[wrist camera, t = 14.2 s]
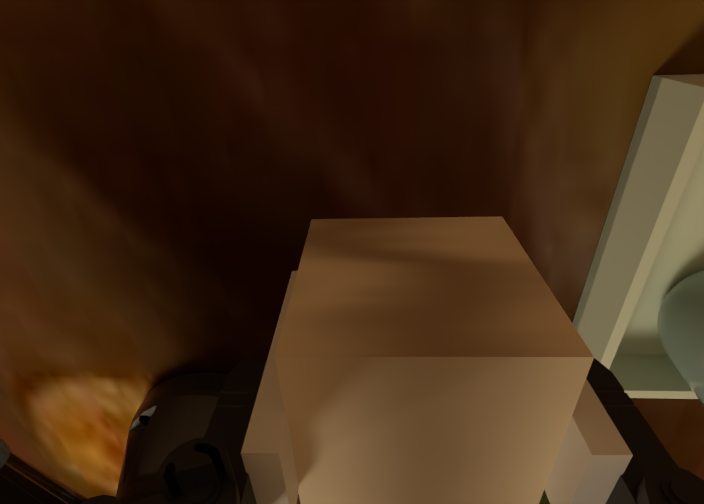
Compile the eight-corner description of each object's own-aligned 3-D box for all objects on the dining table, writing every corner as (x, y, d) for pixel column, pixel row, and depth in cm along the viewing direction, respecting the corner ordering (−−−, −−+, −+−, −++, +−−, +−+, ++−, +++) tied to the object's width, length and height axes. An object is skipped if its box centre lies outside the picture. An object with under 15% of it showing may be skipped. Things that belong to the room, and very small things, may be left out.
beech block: (324, 355, 16) (303, 519, 11) (311, 219, 13) (274, 356, 8) (477, 356, 16) (531, 524, 11) (502, 216, 13) (594, 357, 8)
